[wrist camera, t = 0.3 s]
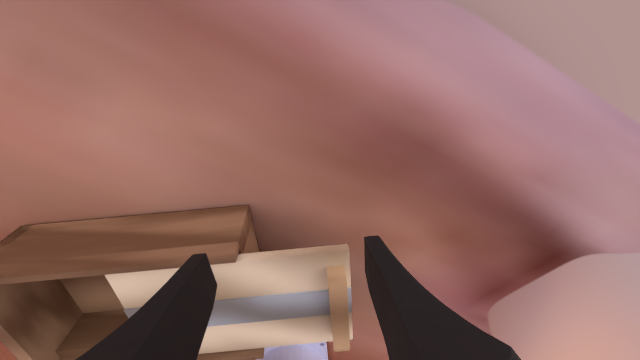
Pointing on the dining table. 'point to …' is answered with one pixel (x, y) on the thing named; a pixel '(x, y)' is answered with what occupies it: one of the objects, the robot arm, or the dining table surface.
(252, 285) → the lid
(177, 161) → the dining table surface
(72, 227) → the keepsake box
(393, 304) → the robot arm
